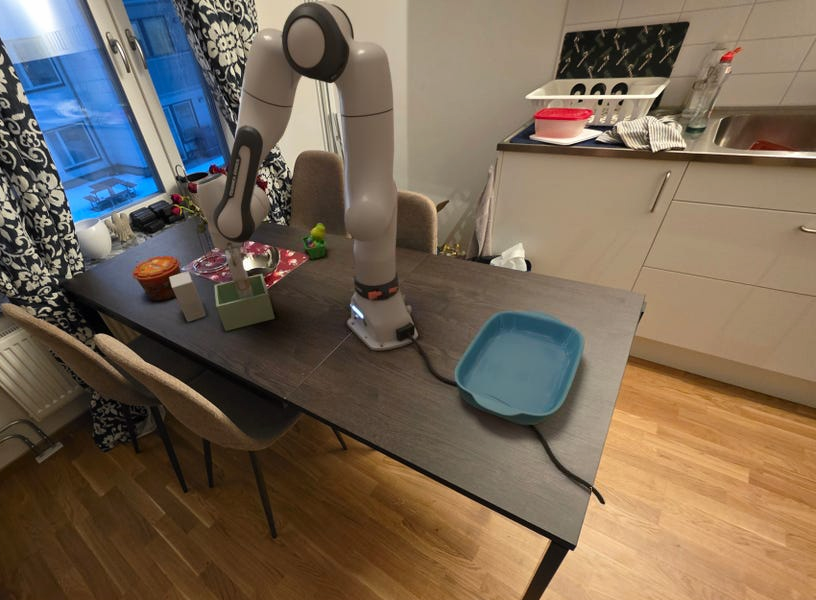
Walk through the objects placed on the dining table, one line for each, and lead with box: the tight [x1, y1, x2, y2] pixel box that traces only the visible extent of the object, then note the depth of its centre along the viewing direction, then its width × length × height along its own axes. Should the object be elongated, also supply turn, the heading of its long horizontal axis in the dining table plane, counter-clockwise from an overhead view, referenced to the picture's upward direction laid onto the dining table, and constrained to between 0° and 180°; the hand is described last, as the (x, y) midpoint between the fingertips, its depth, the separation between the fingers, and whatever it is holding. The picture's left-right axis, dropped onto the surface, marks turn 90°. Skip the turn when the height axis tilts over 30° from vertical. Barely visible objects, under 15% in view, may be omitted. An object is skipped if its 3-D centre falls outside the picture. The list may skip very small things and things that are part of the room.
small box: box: [169, 271, 207, 323], centre depth 124 cm, size 8×6×13 cm
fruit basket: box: [301, 222, 327, 260], centre depth 149 cm, size 11×9×11 cm
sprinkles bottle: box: [235, 269, 254, 300], centre depth 120 cm, size 5×5×13 cm
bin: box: [213, 273, 276, 332], centre depth 122 cm, size 14×16×9 cm
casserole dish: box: [453, 310, 585, 426], centre depth 89 cm, size 37×22×7 cm, turn 145°
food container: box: [132, 255, 182, 302], centre depth 138 cm, size 16×16×11 cm
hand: (241, 280), depth 117 cm, fingers open, 8 cm apart
